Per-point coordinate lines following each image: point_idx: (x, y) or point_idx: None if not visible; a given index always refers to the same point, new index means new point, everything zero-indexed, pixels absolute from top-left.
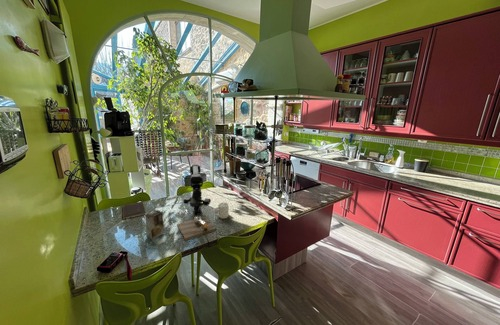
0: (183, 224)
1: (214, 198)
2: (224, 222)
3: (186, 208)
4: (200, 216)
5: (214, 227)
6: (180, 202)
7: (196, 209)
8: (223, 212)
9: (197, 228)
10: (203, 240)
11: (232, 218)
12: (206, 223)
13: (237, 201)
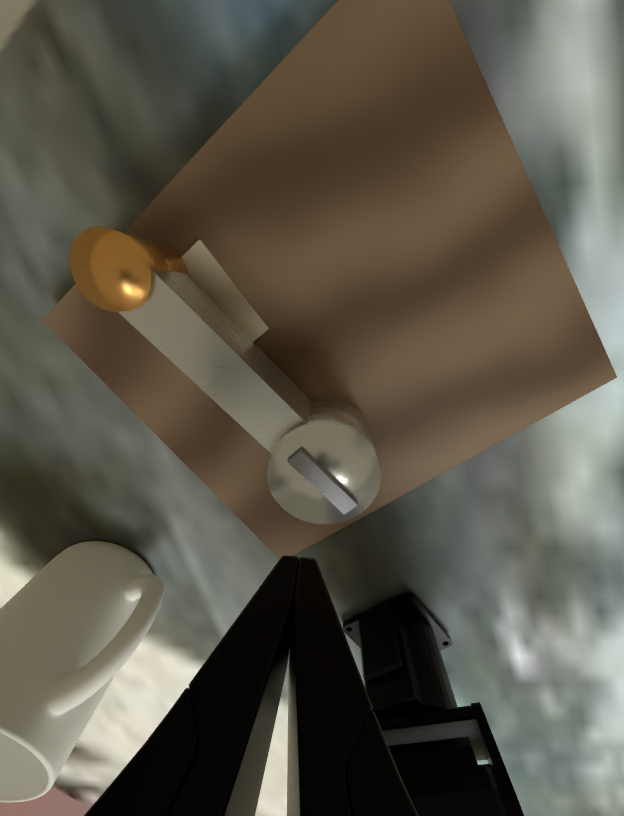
0: (517, 378)
1: None
2: (45, 476)
3: (524, 681)
4: (288, 508)
5: (65, 338)
6: (599, 757)
7: (320, 628)
8: (15, 609)
9: (286, 291)
10: (105, 7)
11: (5, 545)
12: (96, 303)
13: (97, 758)
